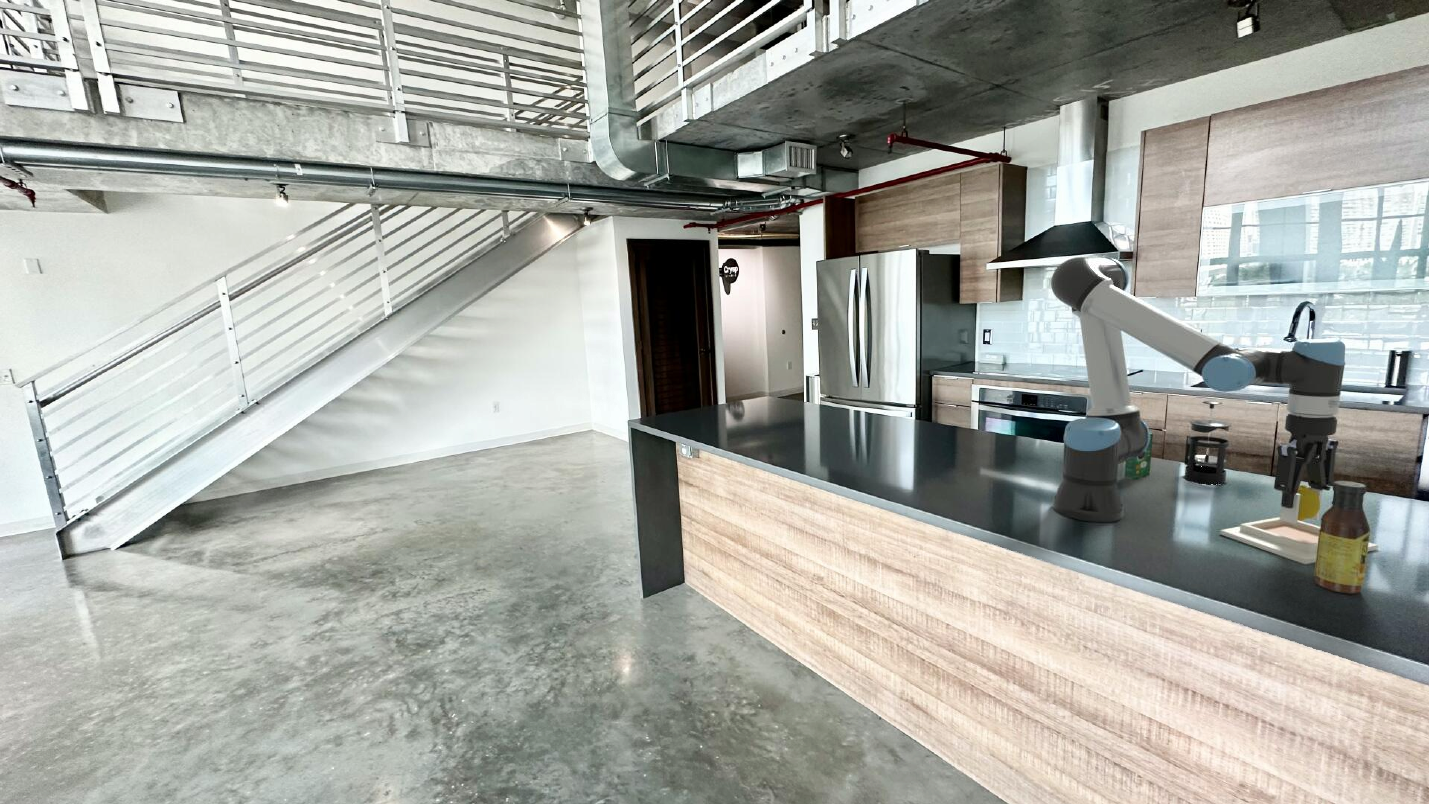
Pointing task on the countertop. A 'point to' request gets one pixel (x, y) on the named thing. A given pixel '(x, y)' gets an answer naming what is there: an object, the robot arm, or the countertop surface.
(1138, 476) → the coffee box
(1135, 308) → the robot arm
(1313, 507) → the lemon
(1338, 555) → the sauce bottle
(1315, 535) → the tray
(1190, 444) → the french press
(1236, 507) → the countertop surface
